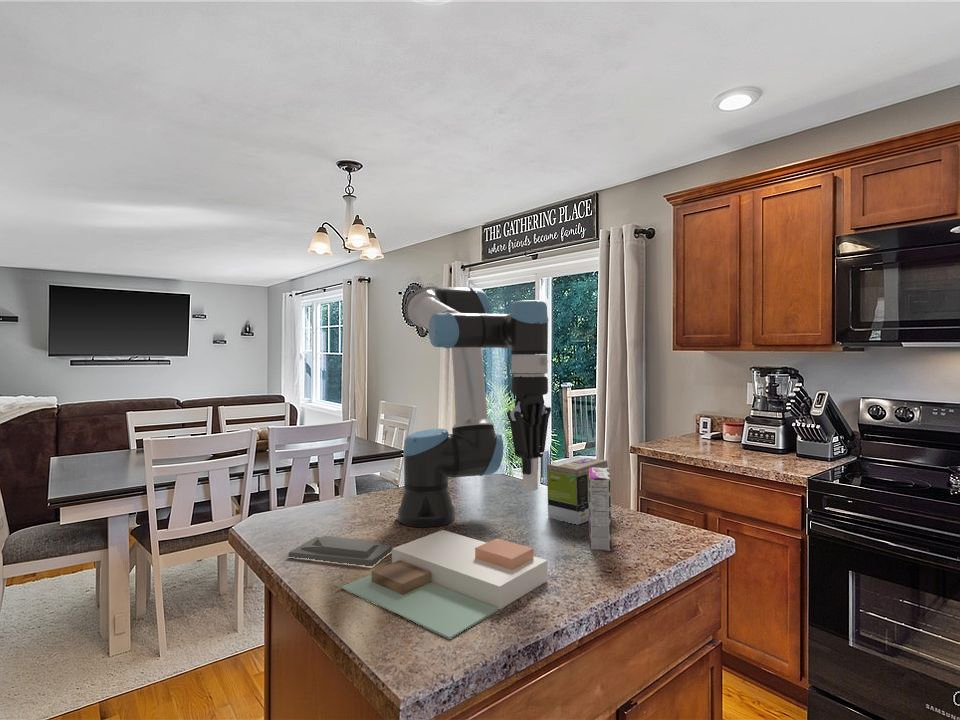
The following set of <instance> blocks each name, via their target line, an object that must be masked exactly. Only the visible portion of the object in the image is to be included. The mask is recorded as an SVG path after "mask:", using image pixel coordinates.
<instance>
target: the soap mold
mask: <svg viewBox="0 0 960 720" xmlns="http://www.w3.org/2000/svg"><path fill="white" fill-rule="evenodd" d="M392 548H393V545H391V544H380V543H376V542H375V541H371V540H369V539H358V538H349V537H341V536H330V535H323V536H321V537H319V536H315V537H313V538H311V539H310V540H308V541H306V542H304V543H303V544H300V545H299V546H297V547H296V548H294V549H292V550H289V552H288V557H295V558H297V557H298V558H307V559H308V558H309V559H315V560H323V561H330V562H338V563H347V564H348V563H349V564H356V565H365V566H373V565H374V564H376V563H377V562H378V561H379V560H380V559H382V558H383V557H384V556H386V555H387V554H388V553H390V552H391V551H392Z"/></svg>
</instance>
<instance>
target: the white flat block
mask: <svg viewBox="0 0 960 720" xmlns="http://www.w3.org/2000/svg"><path fill="white" fill-rule="evenodd" d="M485 543H487V542H485V541H482V540H479V539H475V538H471V537H468V536H465V535H462V534H457V533H455V532H451V531H447V530H444V529H442V530H441V529H440V530H439V531H435V532H433V533H430V534H428V535H425V536H422V537H419V538H417V539H415V540H412V541H410V542H406V543H403V544H400V545H398V546H396V547H392V553H391V563H393V562H396V561H399V560H401V561H403V562H406V563H408V564H411V565H414V566H416V567H419V568H421V569H424V570H427V571H429V572H431V583H433V584H436V585H439V586H441V587H444V588H446V589H449V590H452V591H454V592H457V593H459V594H462V595H465V596H467V597H470V598H472V599H475V600H478V601H480V602H483V603H485V604H488V605H491V606H493V607H496V608H498V611H499V610H502V609H504V608H505V607H507V606H508V605H510V604H511V603H513V602H515V601H517V600H518V599H519V598H522V597H524V596H525V595H526V594H528V593H529V592H531V591H533V590H535V589H536V588H538V587H540V586H541V585H543V584H545V583H546V582H547V581H548V560H547V559H544V558H541V557H537V556H534V559H532V560H530V561H528V562H526V563H524V564H523V565H521V566H519V567H517V568H515V569H513V570H511V569H508V568H505V567H501V566H498V565H495V564H492V563H489V562H486V561H483V560H479V559H476V558H475V548H476V547H478V546H481V545H483V544H485Z"/></svg>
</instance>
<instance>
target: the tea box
mask: <svg viewBox="0 0 960 720" xmlns="http://www.w3.org/2000/svg"><path fill="white" fill-rule="evenodd" d="M591 467H595V468H609V467H608V460H605V459H597V458H592V457H591V458H589V457H583V456H574V457H572V458H568V459H564V460H559V461H557V462H553V463H550V464H546V470H547V471H546V473H547V474H546V477H547V481H546V482H547V484H546V485H547V486H546V487H547V517H548V518H549V517H550V518H549V519H552V518H553V519H552V520H555V519H557V520H556V521H559V520H561V521H560V522H563V521H565V522H564V523H566V522H568V523H567V524H570V523H572V524H571V525H574V524H576V525H575V526H579V525H581V524H583V523H586V522H589V468H591Z"/></svg>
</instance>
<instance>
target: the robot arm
mask: <svg viewBox="0 0 960 720" xmlns="http://www.w3.org/2000/svg"><path fill="white" fill-rule="evenodd" d="M491 309H492V308H491V303H490V300H489V297H488V295H487V294H486V292H485V291H484V290H483V289H481V288H477V287H471V286H466V287H465V286H464V287H463V286H462V287H461V286H459V287H458V286H456V287H455V286H436V285H435V286H433V285H432V286H426V287H423V288H420V289H417V290H416V291H414V292H413V293H412V294H411V295H409V297H408V299H407V301H406V304H405V313H406V315H407V318H408V320H409V321H410V322H411V323H413V324H414V325H415V326H417V327H420V328H425V329H427V330H428V338H429V342H430V344H431V345H432V346H433V347H435V348H444V349H451V357H452V359H451V360H452V370H453V371H452V372H453V383H454V398H455V400H454V401H455V410H456V411H455V412H456V423H455V424H454V425H453V426H452V428H451V429H452V430H451V431H452V433H449V432H448V430H447V429H445V428H431V429H424V430H419V431H415V432H413V433H412V432H411V434H408V435H407V436H406V437H405V438H404V445H403V453H402V455H403V466H404V467H403V470H404V471H403V472H404V473H403V475H404V477H403V479H404V480H403V481H404V482H403V483H404V485H403V489H404V490H403V494H402V498H401V502H400V506H399V507H398V509H397V522H398V523H400V524H401V523H402V525H404V526H407V525H408V527H412V526H413V527H414V528H432V527H440V526H445V525H447V524H449V523H452V522H454V520H455V518H456V517H455V513H456V512H455V511H456V509H455V507H454V506H453V502H452V499H451V495H450V491H449V479H450V478H465V477H477V476H478V477H481V476H486V475H493V474H495V473H497V472H498V470H499V468H500V467H501V465H502V462H503V459H504V458H503V457H504V440H503V438H502V434H501V432H499V431H497V430H495V425H494V423H493V422H491V420H489V417H488V408H487V407H488V406H487V397H486V395H487V394H486V385H485V375H484V374H485V372H484V364H483V363H484V362H483V353H482V348H487V349H488V348H493V349H495V348H498V349H499V348H500V349H511V352H510V353H511V356H510V357H511V358H510V360H511V363H510V366H511V367H510V371H511V372H510V373H511V374H512V375H513V376H512V378H511V394H513V395H515V401H514V408H513V409H512V410H508V411H507V413H506V417H508V418H507V419H508V421H509V424H510V430H511V435H512V436H511V438H512V444H513V449H514V450H513V451H514V456H516V457H517V458H521V467H522V468H521V472H522V490H528V491H537V490H538V486H539V485H538V483H539V482H538V481H539V480H538V479H539V478H538V473H539V471H538V470H539V458H540V459H541V458H543V457H544V453H545V451H546V450H545V449H546V442H547V434H548V425H549V418H550V415H551V412H552V407H550V406H546V405H545V399H544V396H545V395H547V394H548V393H549V378H548V376H546V374H548V370H549V369H548V367H549V366H548V363H549V361H548V360H549V359H548V353H549V352H548V349H549V343H548V342H549V341H548V340H549V339H548V337H549V334H548V333H549V316H548V305H547V303H546V302H545V301H543V300H535V299H533V300H531V299H530V300H529V299H526V300H525V299H524V300H516V301H513V302H512V303H511V309H510V312H509V313H492V311H491Z"/></svg>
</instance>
